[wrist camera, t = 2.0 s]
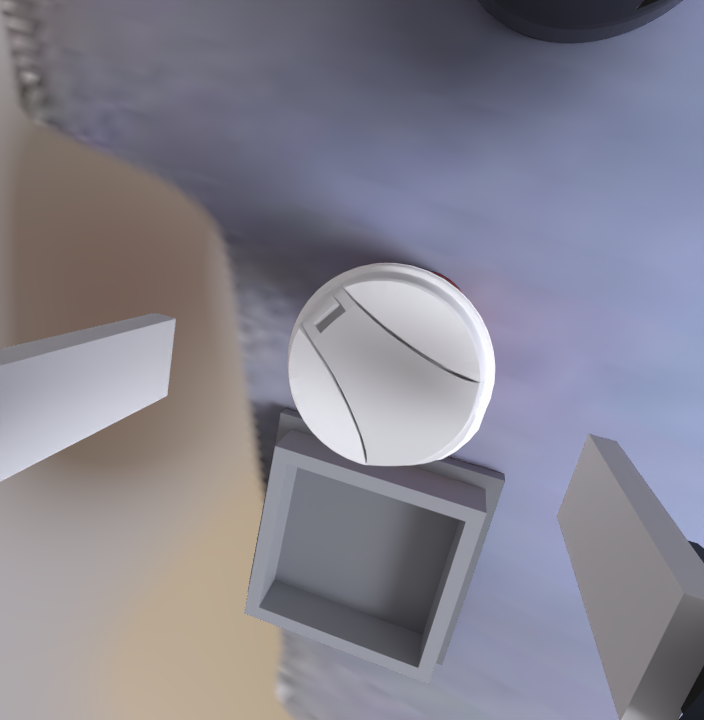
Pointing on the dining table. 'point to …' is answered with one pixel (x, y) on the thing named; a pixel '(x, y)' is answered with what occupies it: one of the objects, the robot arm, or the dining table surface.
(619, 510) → the robot arm
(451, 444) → the coffee cup
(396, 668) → the tray
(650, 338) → the dining table surface
